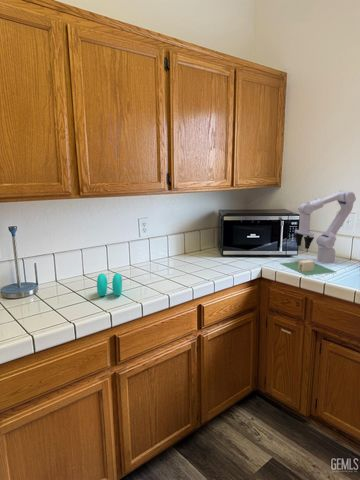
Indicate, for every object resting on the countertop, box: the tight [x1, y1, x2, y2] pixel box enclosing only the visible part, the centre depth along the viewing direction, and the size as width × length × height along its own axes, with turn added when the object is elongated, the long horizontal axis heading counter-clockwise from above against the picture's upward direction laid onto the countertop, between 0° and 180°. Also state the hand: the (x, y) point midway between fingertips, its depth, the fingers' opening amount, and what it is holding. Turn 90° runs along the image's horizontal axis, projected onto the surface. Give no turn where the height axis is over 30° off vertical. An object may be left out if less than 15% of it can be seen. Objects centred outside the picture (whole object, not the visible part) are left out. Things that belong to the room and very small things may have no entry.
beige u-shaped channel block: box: [298, 259, 315, 272], centre depth 184 cm, size 7×4×5 cm, turn 107°
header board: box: [279, 261, 337, 277], centre depth 190 cm, size 20×24×3 cm
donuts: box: [96, 272, 123, 297], centre depth 149 cm, size 10×10×10 cm
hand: (302, 247), depth 198 cm, fingers open, 7 cm apart
